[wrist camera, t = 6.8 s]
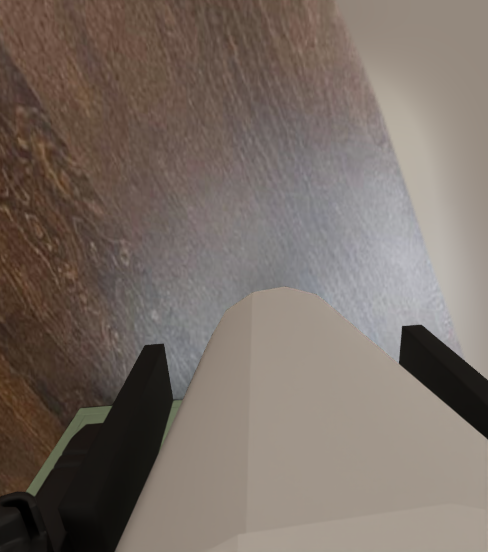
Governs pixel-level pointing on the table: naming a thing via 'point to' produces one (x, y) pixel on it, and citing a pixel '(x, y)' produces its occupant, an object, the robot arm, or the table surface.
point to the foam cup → (310, 446)
